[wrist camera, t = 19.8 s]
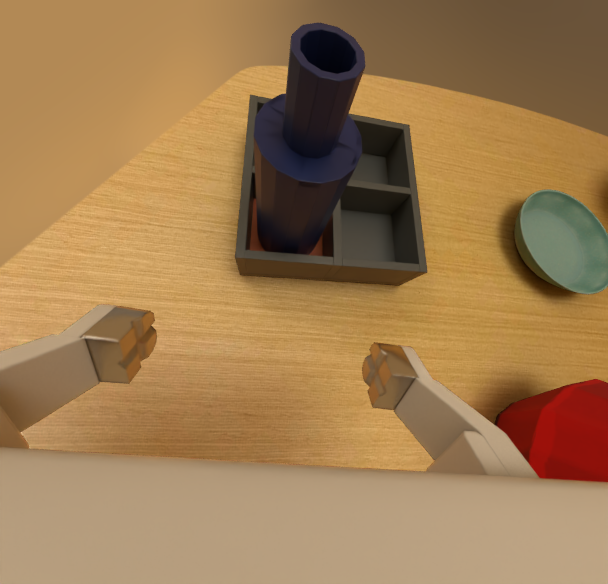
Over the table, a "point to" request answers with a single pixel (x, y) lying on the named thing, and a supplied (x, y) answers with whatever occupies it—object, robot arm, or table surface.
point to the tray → (348, 216)
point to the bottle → (562, 431)
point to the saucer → (563, 242)
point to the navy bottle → (307, 140)
